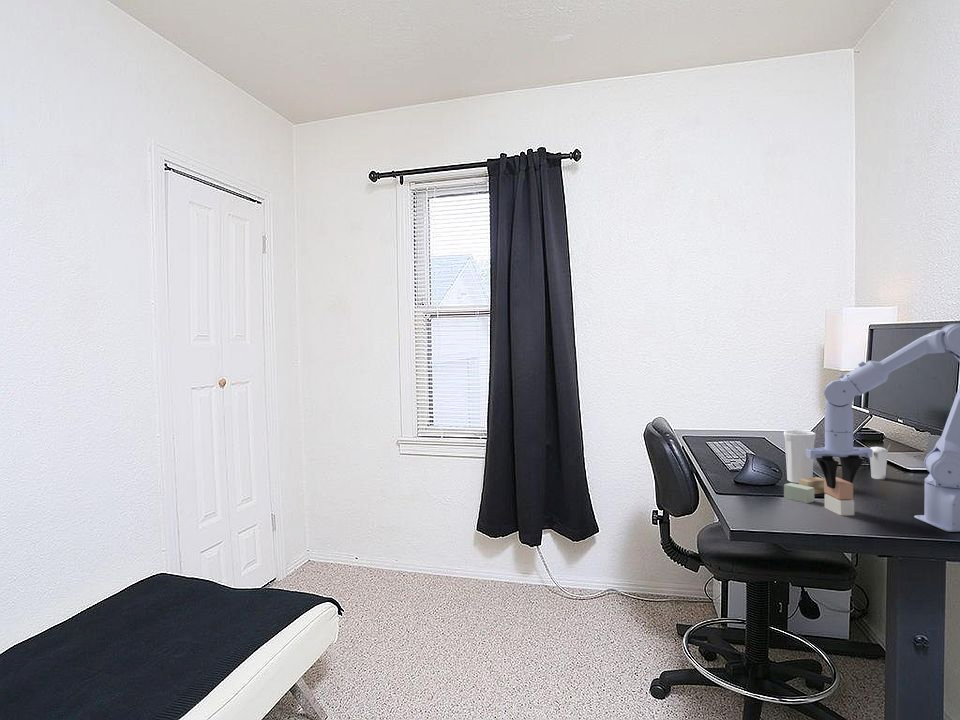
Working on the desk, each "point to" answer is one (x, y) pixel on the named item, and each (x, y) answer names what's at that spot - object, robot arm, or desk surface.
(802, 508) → the desk surface
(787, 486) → the sage brick
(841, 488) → the terracotta brick
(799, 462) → the cup
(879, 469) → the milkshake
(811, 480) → the oak brick
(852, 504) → the cream brick
